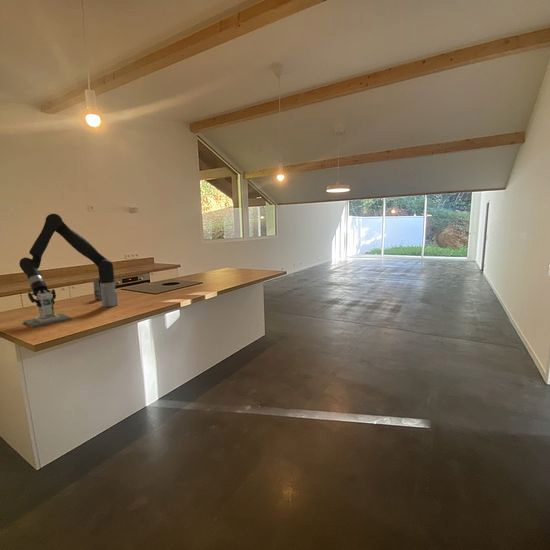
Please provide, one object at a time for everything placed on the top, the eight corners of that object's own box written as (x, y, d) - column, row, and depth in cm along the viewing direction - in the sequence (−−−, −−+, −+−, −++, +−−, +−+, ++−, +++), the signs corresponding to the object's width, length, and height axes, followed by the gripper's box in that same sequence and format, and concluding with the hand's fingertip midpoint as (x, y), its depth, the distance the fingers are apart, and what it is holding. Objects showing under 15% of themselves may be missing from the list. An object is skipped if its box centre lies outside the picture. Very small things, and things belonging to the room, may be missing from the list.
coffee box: (101, 300, 254) (99, 279, 252) (94, 299, 255) (92, 279, 253) (109, 297, 263) (107, 277, 261) (103, 297, 264) (100, 277, 262)
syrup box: (44, 318, 193) (41, 294, 191) (39, 317, 196) (36, 293, 194) (54, 316, 198) (51, 292, 196) (50, 314, 201) (47, 292, 199)
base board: (61, 315, 210) (60, 311, 210) (71, 319, 199) (71, 315, 199) (23, 322, 195) (22, 318, 195) (32, 327, 184) (32, 323, 183)
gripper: (24, 282, 193) (33, 304, 187) (52, 278, 204) (61, 299, 198) (22, 289, 197) (31, 311, 191) (50, 286, 208) (59, 306, 202)
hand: (46, 305), depth 195 cm, fingers closed on syrup box, 6 cm apart
